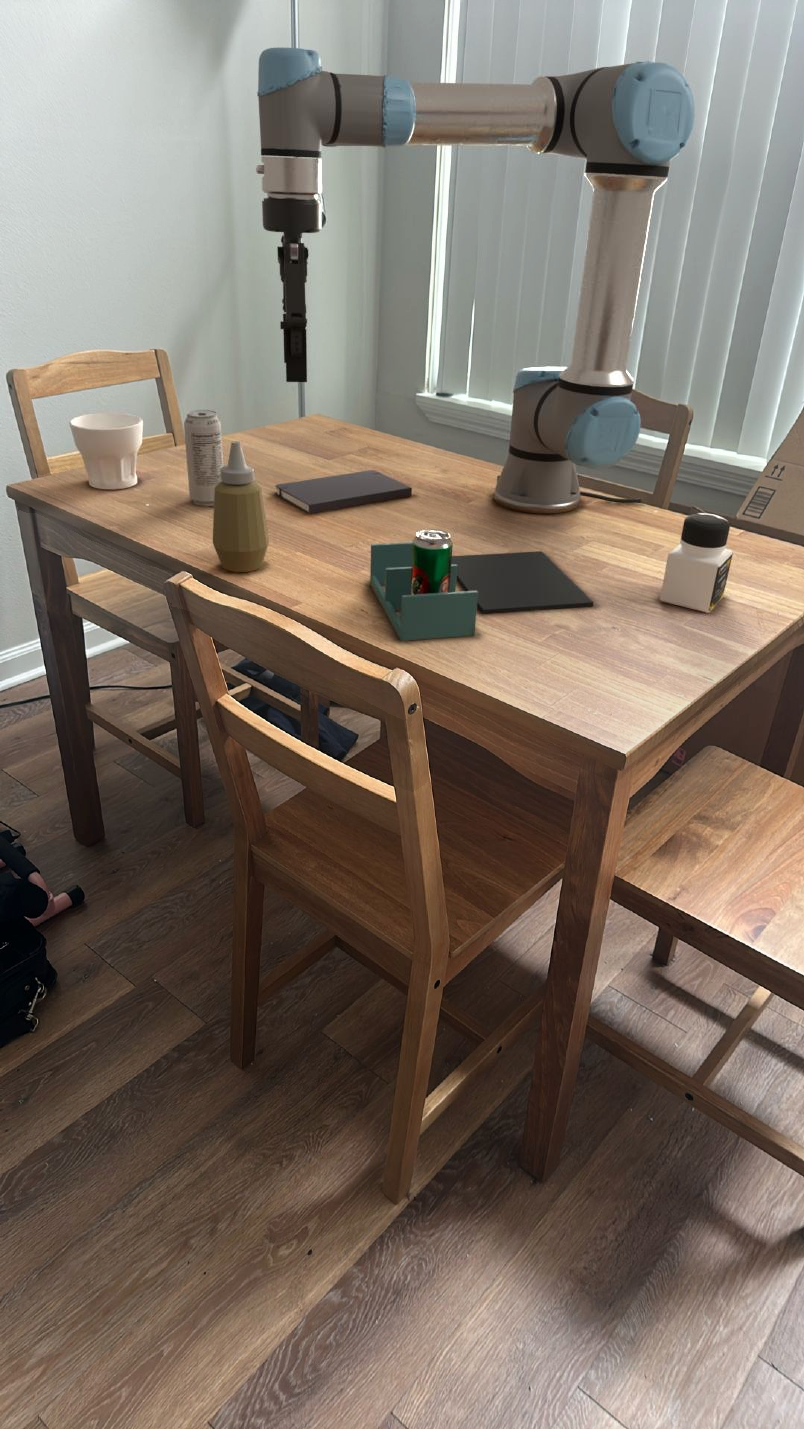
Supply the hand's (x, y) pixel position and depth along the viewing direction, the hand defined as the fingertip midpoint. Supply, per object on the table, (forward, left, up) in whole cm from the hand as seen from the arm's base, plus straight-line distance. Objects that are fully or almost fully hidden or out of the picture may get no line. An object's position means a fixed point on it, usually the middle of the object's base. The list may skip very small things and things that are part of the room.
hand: (295, 372), depth 131 cm
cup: (+28, -40, -27) cm, 56 cm away
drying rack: (-13, +23, -26) cm, 37 cm away
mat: (-29, +16, -26) cm, 42 cm away
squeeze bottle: (+9, +4, -27) cm, 28 cm away
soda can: (-13, +27, -27) cm, 40 cm away
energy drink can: (+12, -27, -27) cm, 40 cm away
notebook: (-12, -28, -27) cm, 40 cm away
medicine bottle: (-52, +26, -27) cm, 64 cm away
